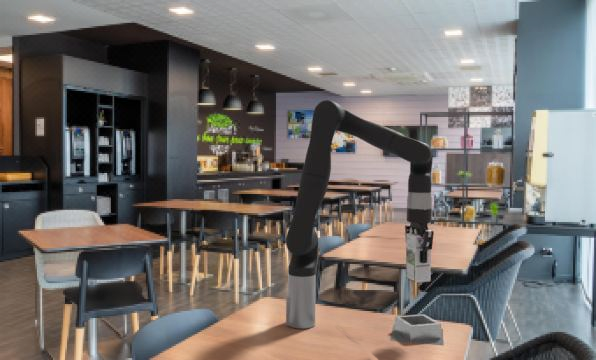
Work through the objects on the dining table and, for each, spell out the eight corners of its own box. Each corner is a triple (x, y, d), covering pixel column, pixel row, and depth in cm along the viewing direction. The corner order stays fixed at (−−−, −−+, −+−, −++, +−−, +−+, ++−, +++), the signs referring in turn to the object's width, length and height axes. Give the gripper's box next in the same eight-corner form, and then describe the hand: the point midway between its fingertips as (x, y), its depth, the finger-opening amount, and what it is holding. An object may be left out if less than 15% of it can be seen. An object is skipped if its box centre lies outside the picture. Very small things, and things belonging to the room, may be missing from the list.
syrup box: (431, 281, 162) (432, 234, 162) (414, 282, 160) (415, 235, 160) (421, 277, 168) (422, 232, 167) (404, 278, 166) (405, 232, 165)
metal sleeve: (410, 341, 158) (410, 326, 158) (394, 330, 168) (394, 316, 168) (440, 338, 161) (441, 323, 161) (423, 327, 171) (424, 314, 171)
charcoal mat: (390, 344, 159) (390, 340, 159) (393, 328, 174) (393, 324, 174) (443, 349, 155) (443, 345, 155) (442, 332, 170) (442, 328, 170)
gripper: (397, 205, 169) (396, 257, 170) (419, 209, 155) (418, 266, 156) (418, 204, 171) (417, 256, 172) (442, 208, 157) (441, 264, 158)
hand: (418, 260), depth 164 cm, fingers closed on syrup box, 6 cm apart
